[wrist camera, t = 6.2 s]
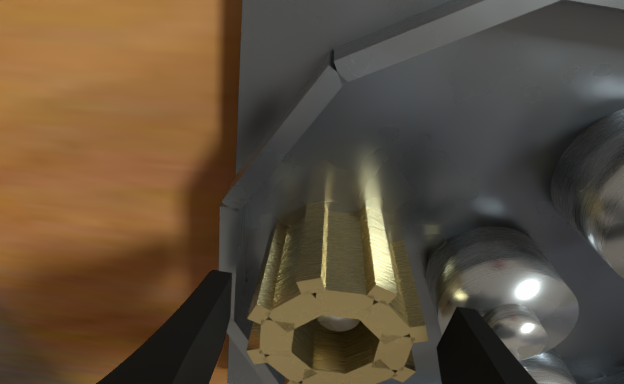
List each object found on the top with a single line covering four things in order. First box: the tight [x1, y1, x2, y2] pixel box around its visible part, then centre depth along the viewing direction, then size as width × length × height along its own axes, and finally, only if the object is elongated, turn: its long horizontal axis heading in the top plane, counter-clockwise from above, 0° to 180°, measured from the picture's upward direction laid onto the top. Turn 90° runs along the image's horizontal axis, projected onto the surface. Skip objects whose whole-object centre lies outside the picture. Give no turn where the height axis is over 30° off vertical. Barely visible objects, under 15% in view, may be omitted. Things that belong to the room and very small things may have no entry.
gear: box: [246, 201, 429, 384], centre depth 13 cm, size 5×5×4 cm
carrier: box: [219, 0, 624, 384], centre depth 13 cm, size 20×20×5 cm
